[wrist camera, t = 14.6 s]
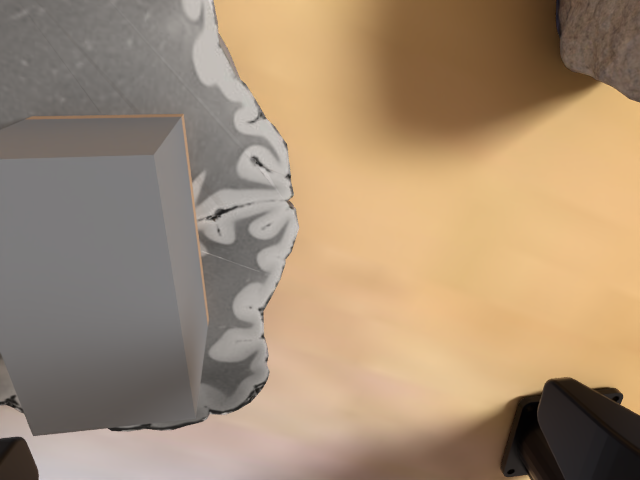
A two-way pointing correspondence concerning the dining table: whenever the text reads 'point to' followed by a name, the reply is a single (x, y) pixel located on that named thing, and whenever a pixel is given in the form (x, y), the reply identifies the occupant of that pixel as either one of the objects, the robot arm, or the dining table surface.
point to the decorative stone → (602, 41)
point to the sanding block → (100, 271)
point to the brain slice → (203, 148)
